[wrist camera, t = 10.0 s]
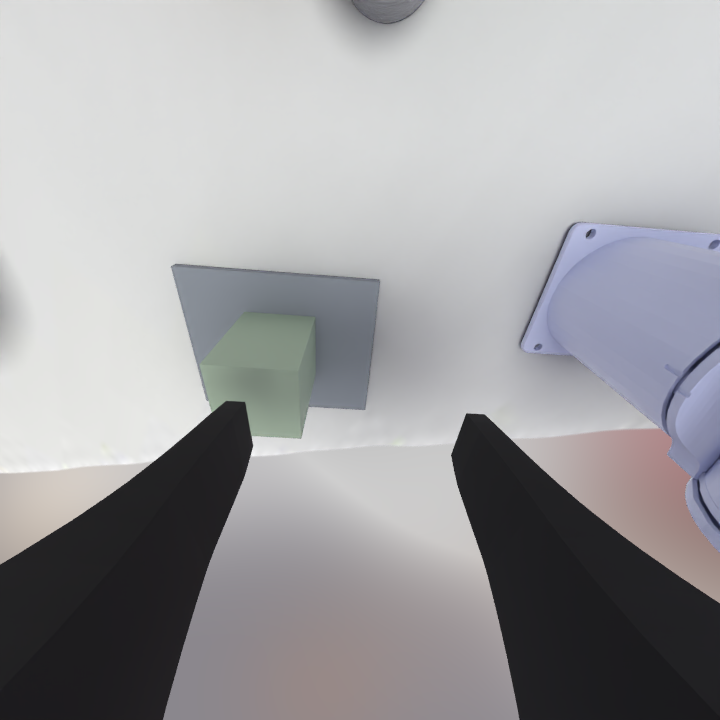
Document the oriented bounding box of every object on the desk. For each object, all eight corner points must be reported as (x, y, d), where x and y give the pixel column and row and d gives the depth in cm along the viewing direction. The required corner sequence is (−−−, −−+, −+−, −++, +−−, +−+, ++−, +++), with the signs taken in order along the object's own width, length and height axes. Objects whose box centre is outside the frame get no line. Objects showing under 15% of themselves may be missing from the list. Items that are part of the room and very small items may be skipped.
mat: (379, 279, 17) (379, 282, 17) (365, 405, 23) (365, 409, 22) (175, 264, 17) (170, 266, 17) (209, 396, 22) (206, 400, 22)
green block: (315, 316, 18) (298, 370, 13) (315, 374, 21) (301, 438, 15) (244, 311, 18) (199, 364, 13) (252, 369, 20) (217, 434, 15)
